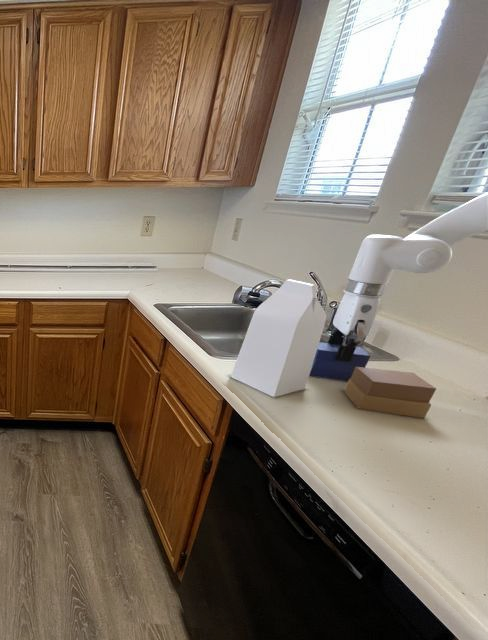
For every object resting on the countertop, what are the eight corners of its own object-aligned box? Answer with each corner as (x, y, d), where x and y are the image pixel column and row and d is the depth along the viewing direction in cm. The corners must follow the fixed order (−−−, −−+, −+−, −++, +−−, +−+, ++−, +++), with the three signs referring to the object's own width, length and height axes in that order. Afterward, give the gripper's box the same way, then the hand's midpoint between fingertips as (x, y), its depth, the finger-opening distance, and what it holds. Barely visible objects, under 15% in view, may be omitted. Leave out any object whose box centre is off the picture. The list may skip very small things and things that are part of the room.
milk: (230, 376, 110) (259, 278, 99) (260, 369, 114) (291, 275, 103) (273, 397, 100) (311, 290, 89) (305, 388, 104) (344, 286, 93)
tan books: (403, 399, 100) (417, 373, 97) (424, 418, 92) (439, 390, 89) (343, 390, 103) (354, 365, 100) (357, 408, 96) (370, 381, 93)
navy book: (356, 355, 111) (360, 346, 110) (366, 364, 106) (370, 355, 104) (308, 349, 114) (311, 341, 113) (315, 358, 109) (318, 349, 108)
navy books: (349, 372, 113) (356, 355, 111) (359, 383, 107) (367, 365, 105) (300, 365, 117) (306, 349, 115) (308, 376, 111) (314, 358, 109)
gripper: (400, 298, 93) (368, 370, 101) (368, 281, 108) (342, 345, 116) (360, 295, 96) (331, 365, 104) (333, 279, 110) (310, 342, 118)
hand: (337, 354), depth 110 cm, fingers closed on navy book, 6 cm apart
